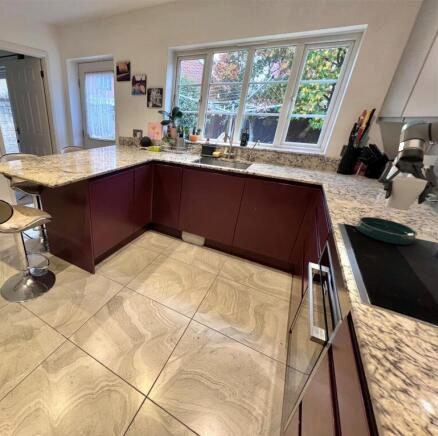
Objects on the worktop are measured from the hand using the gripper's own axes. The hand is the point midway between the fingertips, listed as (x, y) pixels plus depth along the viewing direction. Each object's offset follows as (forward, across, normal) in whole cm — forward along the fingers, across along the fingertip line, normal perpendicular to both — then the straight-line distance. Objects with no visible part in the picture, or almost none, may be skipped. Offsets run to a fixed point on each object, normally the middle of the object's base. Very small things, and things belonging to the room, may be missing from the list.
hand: (404, 199), depth 92 cm
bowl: (+10, 0, -14) cm, 17 cm away
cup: (+1, 0, -5) cm, 5 cm away
